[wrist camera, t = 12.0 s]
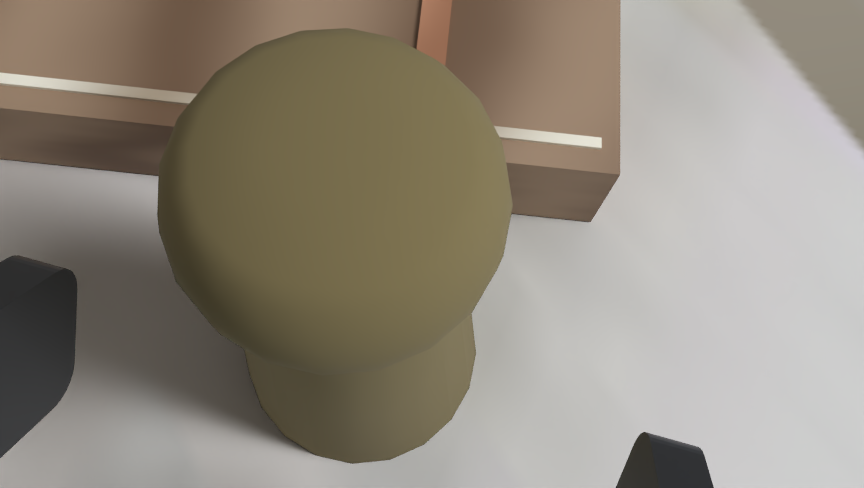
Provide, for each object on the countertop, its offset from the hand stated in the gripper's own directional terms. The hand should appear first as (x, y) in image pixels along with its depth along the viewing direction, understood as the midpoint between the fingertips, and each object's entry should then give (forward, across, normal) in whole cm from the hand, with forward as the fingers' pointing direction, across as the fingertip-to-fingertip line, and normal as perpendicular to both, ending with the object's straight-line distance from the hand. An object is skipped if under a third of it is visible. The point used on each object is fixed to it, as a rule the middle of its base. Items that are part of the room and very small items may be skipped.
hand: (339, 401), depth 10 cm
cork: (+9, +1, +4) cm, 10 cm away
